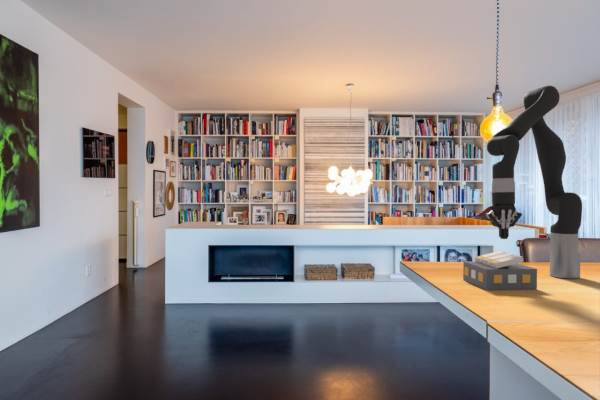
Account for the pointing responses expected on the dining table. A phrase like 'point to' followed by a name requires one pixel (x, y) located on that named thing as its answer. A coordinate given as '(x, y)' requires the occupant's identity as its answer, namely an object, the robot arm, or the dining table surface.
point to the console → (500, 276)
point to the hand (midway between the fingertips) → (503, 238)
